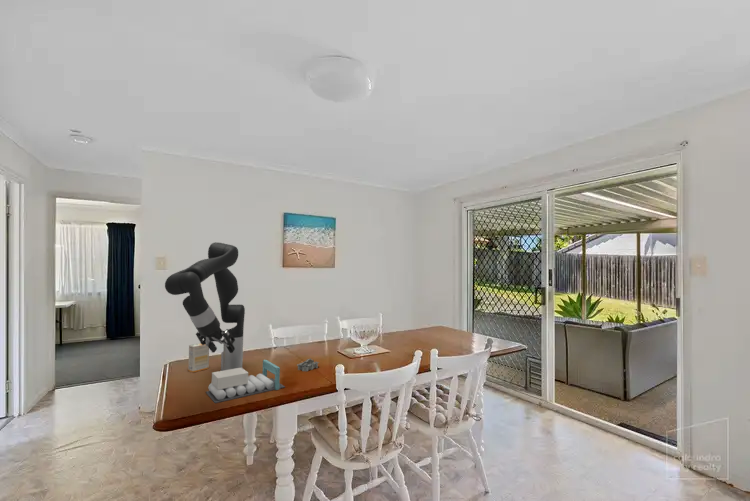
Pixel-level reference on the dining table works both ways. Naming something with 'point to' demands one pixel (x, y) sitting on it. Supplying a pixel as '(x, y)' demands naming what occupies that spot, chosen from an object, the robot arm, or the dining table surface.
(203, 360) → the supplement box
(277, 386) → the bar
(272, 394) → the dining table surface
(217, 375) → the slab
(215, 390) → the roller bed
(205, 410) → the dining table surface
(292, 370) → the dining table surface
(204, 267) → the robot arm
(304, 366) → the egg carton
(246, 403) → the dining table surface
